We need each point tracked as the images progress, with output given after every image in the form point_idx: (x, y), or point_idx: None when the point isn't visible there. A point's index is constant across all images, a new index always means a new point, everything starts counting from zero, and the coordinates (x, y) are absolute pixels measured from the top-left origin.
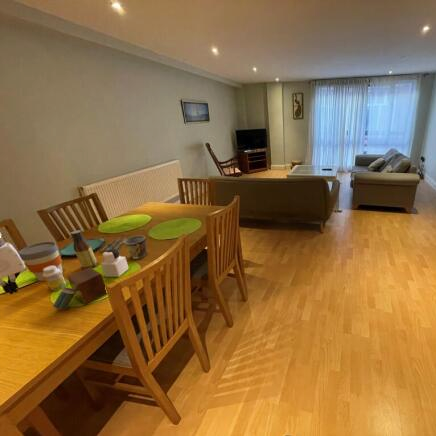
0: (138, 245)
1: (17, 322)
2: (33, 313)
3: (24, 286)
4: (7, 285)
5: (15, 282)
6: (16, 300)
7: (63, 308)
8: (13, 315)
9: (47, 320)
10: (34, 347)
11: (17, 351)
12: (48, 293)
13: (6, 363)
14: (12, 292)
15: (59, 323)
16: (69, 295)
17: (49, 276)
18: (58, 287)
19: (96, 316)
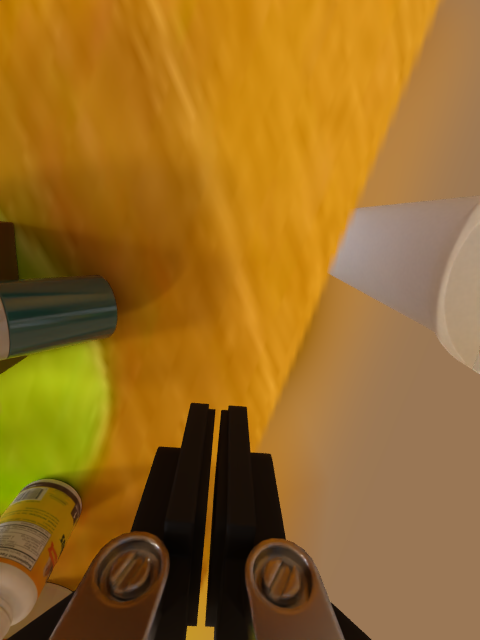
0: None
1: (244, 388)
2: (186, 394)
3: None
4: (239, 511)
5: (136, 522)
6: None
7: (94, 275)
8: None
9: (175, 279)
10: (289, 111)
11: (331, 165)
12: (96, 487)
13: (387, 121)
14: (228, 416)
15: (155, 192)
16: (6, 281)
17: (13, 568)
18: (49, 487)
19: (13, 32)
